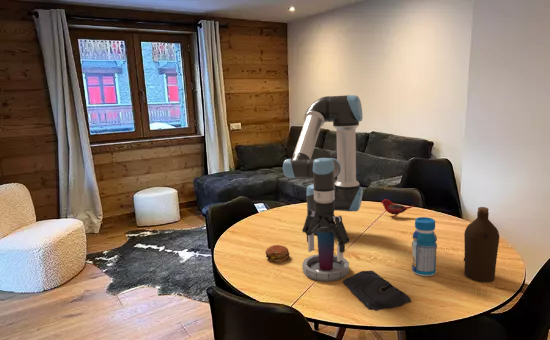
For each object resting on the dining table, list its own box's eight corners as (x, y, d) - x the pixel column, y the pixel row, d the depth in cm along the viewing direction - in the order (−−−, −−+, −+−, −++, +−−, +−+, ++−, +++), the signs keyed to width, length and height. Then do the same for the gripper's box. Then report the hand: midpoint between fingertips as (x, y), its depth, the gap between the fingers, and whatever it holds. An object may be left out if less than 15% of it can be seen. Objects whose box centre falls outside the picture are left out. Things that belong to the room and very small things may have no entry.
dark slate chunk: (377, 274, 139) (377, 262, 138) (415, 304, 118) (415, 290, 117) (339, 282, 134) (339, 269, 134) (371, 314, 114) (371, 300, 113)
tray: (294, 272, 143) (293, 264, 142) (321, 257, 154) (321, 250, 154) (330, 286, 131) (330, 278, 130) (357, 269, 142) (357, 261, 142)
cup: (315, 264, 146) (315, 227, 143) (332, 263, 146) (332, 226, 144) (319, 272, 139) (318, 233, 136) (337, 271, 139) (337, 232, 137)
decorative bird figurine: (380, 216, 202) (380, 198, 201) (414, 216, 200) (414, 198, 198) (381, 218, 200) (381, 199, 198) (415, 218, 197) (416, 199, 195)
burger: (286, 252, 162) (286, 241, 161) (291, 261, 153) (291, 250, 152) (263, 255, 160) (263, 244, 159) (267, 264, 151) (267, 253, 150)
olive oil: (503, 280, 129) (509, 210, 124) (478, 285, 127) (482, 214, 122) (480, 267, 139) (484, 202, 135) (455, 272, 137) (458, 205, 132)
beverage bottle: (424, 279, 132) (426, 225, 129) (406, 270, 140) (407, 218, 136) (441, 273, 136) (443, 220, 132) (422, 264, 144) (424, 214, 140)
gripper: (292, 197, 144) (294, 249, 148) (346, 209, 126) (347, 268, 130) (304, 193, 149) (306, 244, 153) (359, 203, 131) (359, 260, 135)
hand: (325, 255), depth 141 cm, fingers open, 13 cm apart
